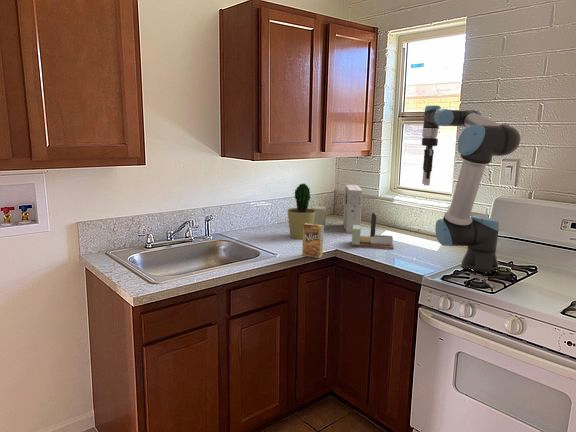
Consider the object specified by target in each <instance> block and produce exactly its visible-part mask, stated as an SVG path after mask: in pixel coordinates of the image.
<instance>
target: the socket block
mask: <svg viewBox="0 0 576 432" xmlns="http://www.w3.org/2000/svg"><path fill="white" fill-rule="evenodd" d="M361 226H362V225H361V224H360V225H353V232H352V233H351V234H352V236H351V245H352V244H356V245H360V236H361V231H362V230H361V229H362V227H361Z"/></svg>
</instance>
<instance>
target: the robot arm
mask: <svg viewBox="0 0 576 432" xmlns="http://www.w3.org/2000/svg"><path fill="white" fill-rule="evenodd" d="M424 107H425V108H424V112H423V123H422V124H423V125H422V127H423V128H422V134H421V136H422V138H421V146H424V147H425V149H424V150H423V152H424V153H423V165H422V170H423V172H422V183H421V185H423V186H430V185H431V173H432V171H433V159H434V154H435V152H434V151H435V150H434V149H433V147H437V146H438V145H439V139H438V138H439V134H440V133H441V131H440V126H441V127H464V129H462V131H461V132H460V134H459V136H458V139H457V152H458V153H459V154H460V158H461V159H462V163H461V168H460V170H459V174H458V177H457V181H456V185H455V188H454V192H453V196H452V199H451V203H450V206H449V210H448V211H445V212H444V214H443V217H442V218H439V219H438V220H436V223H435V226H434V227H435V228H434V229H435V234H436V235H435V236H436V238H437V241H438V243H439V244H440V245H442V246H444V247H445V246H446V247H467V249H466V252H465V254H464V255H463V257H462V260H461V265H462V266H461V265H460V266H461V268H463V267H464V268H470V269H473V270H476V271H480V272H490V271H492V270H494V269H497V268H498V269H499V262H498V259H497V254H496V253H497V244H498V236H499V232H500V223H499V222H498V220H496V219H493V218H490V217H487V216H482V215H471V213H472V210H473V207H474V203H475V200H476V198H477V194H478V192H479V187H480V184H481V181H482V178H483V174H484V171H485V168H486V166H487V165H489V164H491V162H492V160H493V157H504V156H508V155H510V154H512V153H513V152H515V151H516V150H517V149H518V148H519V146H520V142H521V134H520V132H519V131H518V129H517V128H515V127H514V126H512V125H509V124H505V123H503V124H500V123H498V122H495V121H494V120H491V119H489V118H487V117H485V116H483V115H482V114H481V112H480V111H479V110H475V109H471V110H469V109H468V110H467V109H464V110H463V109H448V108H442V107H441V106H440V105H426V106H424ZM464 268H463V269H464Z"/></svg>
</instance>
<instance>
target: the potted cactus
mask: <svg viewBox="0 0 576 432" xmlns="http://www.w3.org/2000/svg"><path fill="white" fill-rule="evenodd" d="M295 186H296V188H295V189H294V196H293V199H295V203H296V207H291V208H288V209H287V210H286V211H287V217H288V225H289V226H288V227H289V235H290V238H291V239H295V240H303V227H304V224H305V223H311V224H313V223H314V218H315V212H316V210H314V209H311V208H310V207H309V203H310V201H312V199H311V191H310V190H311V189H310V187H309V186H308V185H307V183H304V182H303V183H300V184H298V185H295ZM295 203H294V204H295Z"/></svg>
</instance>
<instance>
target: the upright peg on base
mask: <svg viewBox="0 0 576 432" xmlns="http://www.w3.org/2000/svg"><path fill="white" fill-rule="evenodd" d="M377 216H378V215H377V213H376V212H372V213H371V220H370V232H369V233H370V234H369V235H360V242H371V236H375V235H376V227H377V226H376V225H377Z"/></svg>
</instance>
